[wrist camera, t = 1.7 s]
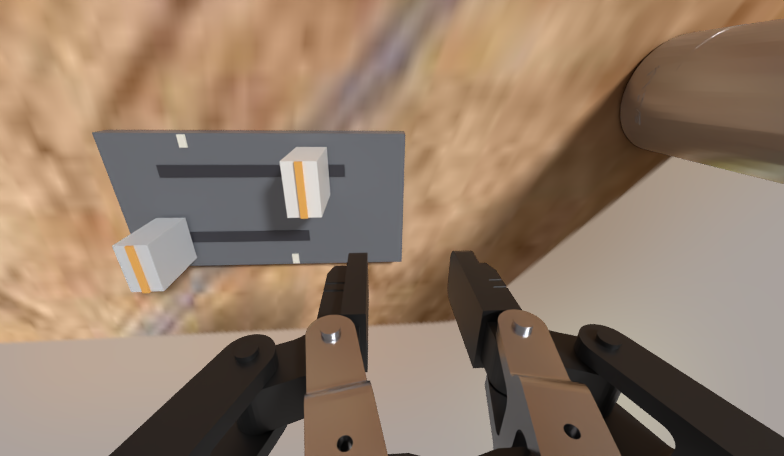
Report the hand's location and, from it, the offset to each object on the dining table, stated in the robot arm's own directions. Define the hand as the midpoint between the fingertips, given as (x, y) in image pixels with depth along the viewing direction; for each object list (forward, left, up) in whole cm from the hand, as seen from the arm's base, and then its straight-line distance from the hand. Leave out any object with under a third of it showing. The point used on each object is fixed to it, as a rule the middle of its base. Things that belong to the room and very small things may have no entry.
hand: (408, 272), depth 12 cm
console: (+11, +3, -17) cm, 20 cm away
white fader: (+6, 0, -15) cm, 17 cm away
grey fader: (+19, +6, -15) cm, 25 cm away
